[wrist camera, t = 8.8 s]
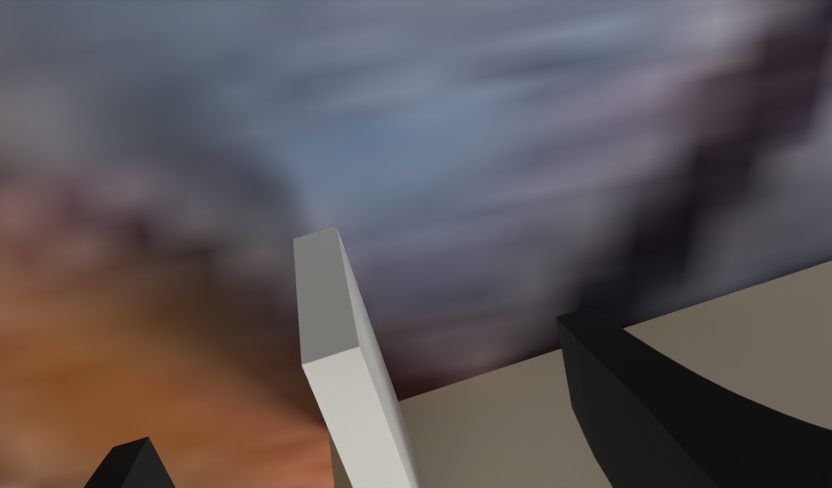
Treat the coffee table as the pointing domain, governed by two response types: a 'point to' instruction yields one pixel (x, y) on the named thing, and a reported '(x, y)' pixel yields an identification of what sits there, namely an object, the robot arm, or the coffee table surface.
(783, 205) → the coffee table surface
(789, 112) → the coffee table surface
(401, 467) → the cream block
